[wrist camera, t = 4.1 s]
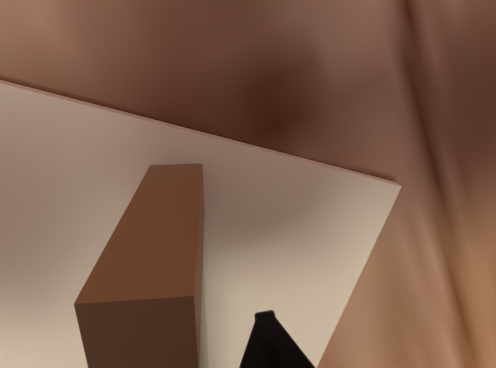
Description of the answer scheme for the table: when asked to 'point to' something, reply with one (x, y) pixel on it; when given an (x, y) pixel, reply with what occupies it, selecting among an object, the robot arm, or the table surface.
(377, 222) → the card
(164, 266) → the swing panel
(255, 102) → the table surface
